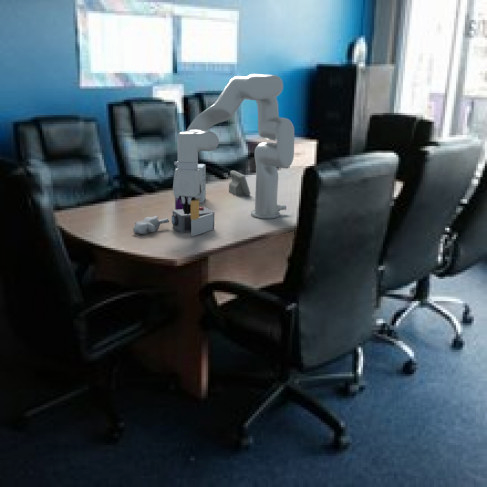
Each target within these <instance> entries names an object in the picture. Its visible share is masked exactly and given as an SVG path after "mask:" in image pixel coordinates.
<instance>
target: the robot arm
mask: <svg viewBox="0 0 487 487" xmlns="http://www.w3.org/2000/svg"><path fill="white" fill-rule="evenodd" d="M283 82H284V81H283V80H282V78H281V77H280V76H279V75H276V74H263V73H251V74H249V75H247V76H244V75H237V76H234V77H232V78H230V80H229V82H228V83H227V84H226V85H225V87H224V88H223V90H222V92H221V93H220V94H219V96H218V98H217V99H216V101H215V102H214V103H213V104H212V105H210V106H209V107H207V108H206V109H204V110H203V111H202V112H200V113H199V114H198V115H197V116H195V118H194V119H193V120H192V121H191V123H190V124H189V125H188V127H187V129H186V131H180V132H179V133H177V142H176V143H177V144H176V145H177V161H174V162H173V164H174V166H176V168H175V170H174V175H173V181H172V183H173V185H172V192H173V193H172V194H173V197H174V198H175V197H176V198H179V199H180V200H181V201H182V203H183V211H184V214H187V215H188V214H190V213H191V201H192V200H200V199H201V192H202V185H201V175H200V170H199V169H198V164H199V152H212V151H214V150H216V149H217V148H218V145H219V143H220V139H219V136H218V134H217V133H215V132H213V131H210V130H208V129H210V128H211V127H213V126H215V125H217V124H220V123H223V122H226V121H229V120H230V119H232V118H233V117H234V115H236V114H235V113H236V112H237V111H238V109H239V107H240V106H241V105H242V103H243V101H245V100H249V101H255V102H256V105H257V131H258V135H259V137H260V138H262V139H264V140H269V141H262V142H260V143H259V144H257V145H256V147H255V149H254V160H255V171H256V173H255V176H256V177H255V196H254V198H255V200H254V209H253V210H252V211H251V213H250V215H251V216H252V217H254V218H259V219H268V220H269V219H277V218H279V217H280V216H281V212H280V211H286V210H287V205H286V204H285V205H281V204H278V187H279V170H278V169H277V168H280V169H287V168H289V167H290V166H291V165H292V164H293V161H294V157H295V126H294V124H293V123H292V121H291V120H290V119H289V118H287V117H280V116H279V115H280V114H279V102H278V99H277V97H279V95H281V93H282V92H283V90H284V83H283ZM270 141H274V142H270ZM275 141H276V143H275ZM187 197H189V198H188V199H187Z"/></svg>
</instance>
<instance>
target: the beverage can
mask: <svg viewBox="0 0 487 487" xmlns="http://www.w3.org/2000/svg"><path fill="white" fill-rule="evenodd" d="M188 198H189V197H187V199H188ZM174 205H175V206H174V210H180V209H183V203H182V201H181V200H180V199H179V198H176V197H174Z"/></svg>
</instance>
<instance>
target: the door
mask: <svg viewBox="0 0 487 487" xmlns="http://www.w3.org/2000/svg"><path fill="white" fill-rule="evenodd" d="M199 207H200V203H199V200H192V201H191V232H190V236H191V237H194V236H198V235H200V234H204V233H206V232H210V231H212V230H213V231H214V230H215V212H214V213H210V214H207V215H204V216H200V217H199Z"/></svg>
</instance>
